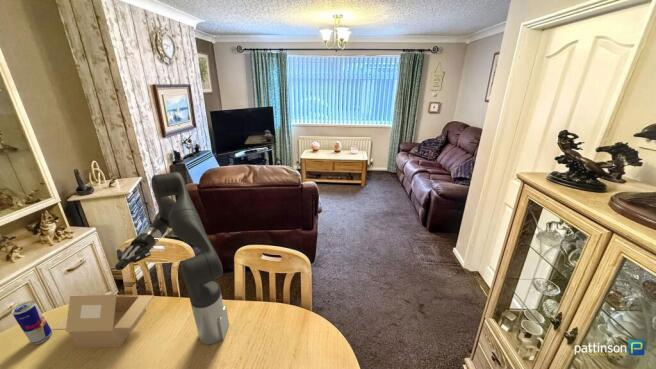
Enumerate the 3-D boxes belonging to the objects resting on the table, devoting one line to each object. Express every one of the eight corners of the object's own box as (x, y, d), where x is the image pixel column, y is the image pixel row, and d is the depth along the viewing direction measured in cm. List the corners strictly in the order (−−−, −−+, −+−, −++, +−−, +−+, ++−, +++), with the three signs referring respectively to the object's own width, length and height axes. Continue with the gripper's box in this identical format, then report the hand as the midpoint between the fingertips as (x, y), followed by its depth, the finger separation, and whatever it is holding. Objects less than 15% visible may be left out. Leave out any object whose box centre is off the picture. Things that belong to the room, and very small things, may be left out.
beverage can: (39, 347, 83) (18, 315, 77) (27, 343, 84) (6, 311, 78) (57, 333, 88) (39, 301, 82) (45, 330, 89) (27, 298, 83)
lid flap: (116, 294, 82) (115, 295, 82) (112, 330, 81) (111, 330, 80) (71, 295, 81) (69, 295, 81) (67, 330, 80) (65, 331, 79)
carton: (159, 310, 97) (154, 294, 94) (136, 346, 84) (128, 328, 81) (95, 311, 96) (87, 295, 93) (60, 347, 83) (50, 330, 80)
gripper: (128, 232, 106) (95, 260, 90) (161, 232, 106) (134, 260, 91) (133, 246, 109) (102, 276, 93) (164, 247, 109) (139, 276, 94)
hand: (118, 268), depth 92 cm, fingers closed
